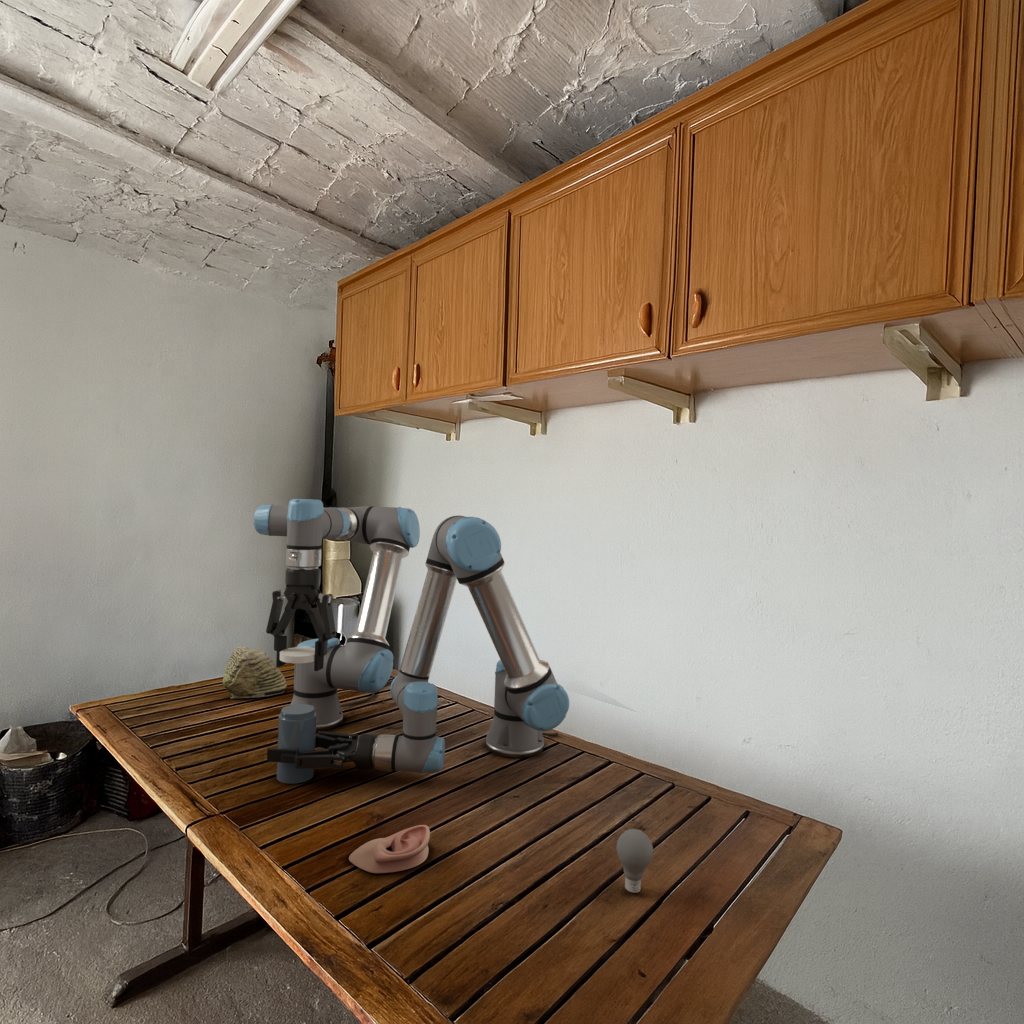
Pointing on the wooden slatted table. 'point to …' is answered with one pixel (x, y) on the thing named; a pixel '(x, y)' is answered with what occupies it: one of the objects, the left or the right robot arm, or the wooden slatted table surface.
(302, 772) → the jar
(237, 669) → the fossil
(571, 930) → the wooden slatted table surface
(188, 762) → the wooden slatted table surface
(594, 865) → the wooden slatted table surface
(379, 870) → the anatomical model
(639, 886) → the light bulb
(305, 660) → the lid
